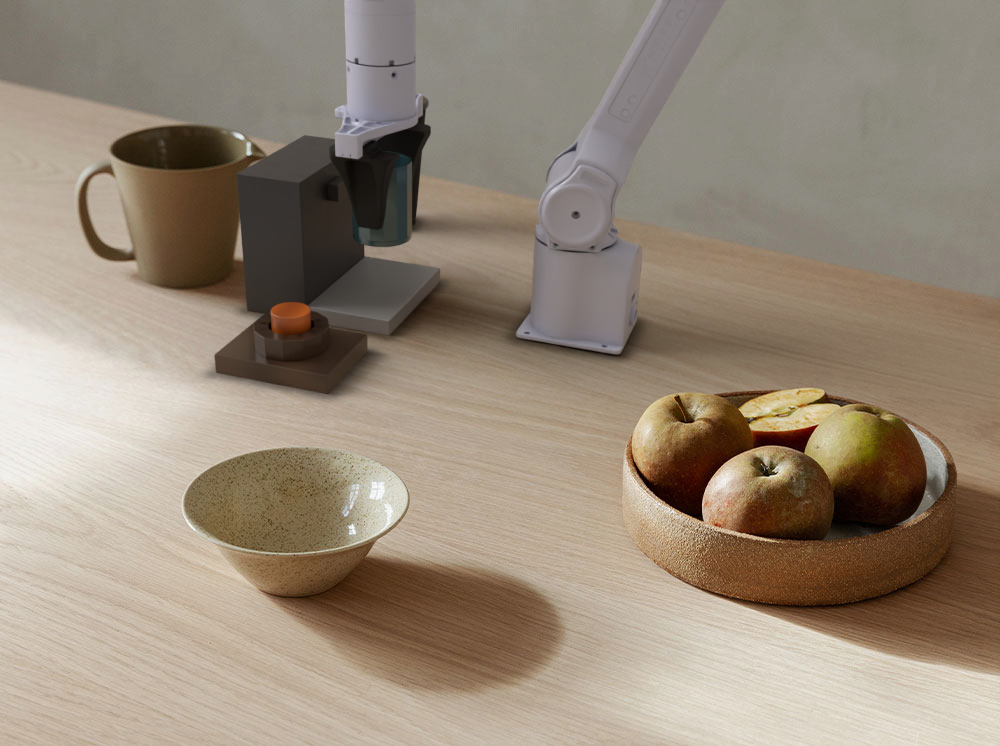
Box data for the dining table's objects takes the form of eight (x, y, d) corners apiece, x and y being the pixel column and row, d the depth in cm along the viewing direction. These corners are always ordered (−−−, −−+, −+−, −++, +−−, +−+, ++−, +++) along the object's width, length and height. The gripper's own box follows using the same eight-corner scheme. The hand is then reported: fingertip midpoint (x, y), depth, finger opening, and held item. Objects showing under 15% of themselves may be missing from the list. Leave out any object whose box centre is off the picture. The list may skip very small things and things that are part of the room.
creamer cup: (420, 230, 100) (420, 155, 96) (398, 251, 95) (397, 172, 92) (367, 222, 101) (365, 147, 98) (342, 242, 96) (340, 164, 93)
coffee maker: (440, 282, 108) (441, 152, 102) (389, 336, 97) (387, 195, 91) (310, 261, 112) (304, 134, 106) (246, 311, 101) (236, 173, 95)
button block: (368, 352, 94) (367, 314, 93) (327, 394, 88) (325, 355, 86) (262, 333, 97) (260, 296, 95) (215, 372, 90) (212, 334, 89)
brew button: (317, 324, 92) (317, 305, 91) (300, 340, 89) (299, 320, 88) (283, 318, 93) (282, 299, 92) (264, 333, 90) (263, 314, 89)
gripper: (370, 38, 98) (373, 185, 104) (296, 72, 86) (304, 237, 92) (445, 46, 96) (443, 195, 103) (381, 82, 84) (383, 249, 90)
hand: (383, 216), depth 97 cm, fingers closed on creamer cup, 5 cm apart
